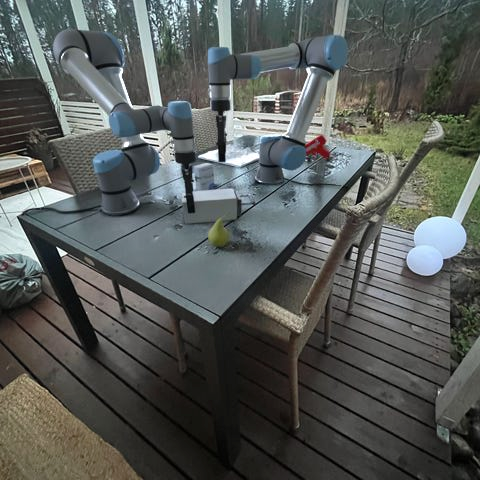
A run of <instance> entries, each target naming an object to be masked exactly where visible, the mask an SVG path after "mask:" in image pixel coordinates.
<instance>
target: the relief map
mask: <svg viewBox="0 0 480 480" xmlns="http://www.w3.org/2000/svg"><path fill="white" fill-rule="evenodd" d="M225 157H226V162H219V159H218V149H216V150H209V151H207V152H206V153H203V154H200V155H198V156H197V158H198V159H202V160H206V161H210V162H213V163H218V164H223V165H226V166H227V165H228V166H232V167H235V168H236V167H237V168H242V167H245V166H247V165H249V164H252V163H254V162H257V161H259V153H257V152H254V151H253V150H252V149H251V148H250V147H245V148H243V149H242V148H239V147H237V145H236V144H234V143H233V144H231V143H229V144H227V145H226V153H225Z"/></svg>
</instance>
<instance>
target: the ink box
mask: <svg viewBox="0 0 480 480" xmlns="http://www.w3.org/2000/svg"><path fill="white" fill-rule="evenodd" d="M214 172H215V171H214V164H212V163H209V162H205V163H201V164H197V165H194V166H193V173H194V183H195V184H194V185H195V190H196V191H202V190H212V189H214V188H215V174H214Z"/></svg>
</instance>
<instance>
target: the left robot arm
mask: <svg viewBox="0 0 480 480" xmlns="http://www.w3.org/2000/svg"><path fill="white" fill-rule="evenodd" d="M52 50H53V55H54V58H55V60H56V62H57V64H58V66H59V67H60V68H61V69H62V71H63V72H65V74H67V75H68V76H69V77H73V78H74V79H75V81H76V82H77V83H78V84H79V85H80V86H81V87H82V88H83V89H84V91H85V92H86V93H87V94H88V95H89V96H90V97H91V98H92V99H93V101H95V102H96V104H97V105H98V106H99V107H100V108H101V109H102V110H103V112H104V113H105V114H106V115H107V116H108V124H109V127H110V129H111V131H112V133H113V134H114V136H115V137H117V138H120V140H121V143H122V145H121V147H120V149H111V150H105V151H103V152H100V153H98V154H96V155H95V156H94V157H93V159H92V165H93V172H94V173H95V176H96V179H97V183H98V185H99V189H100V192H101V201H100V202H101V204H98V205H94V206H90V207H86V208H81V209H75V210H59V209H56V208H54V207H50V206H49V207H47V206H46V207H31V208H27V209H25V210H24V211H23V212H21V214H20V216H24V215H26V214H27V213H28V212H33V211H45V210H49V211H54V212H56V213H59V214H76V213H81V212H87V211H92V210H94V209H98V208H100V209H101V211H102V213H103V215H106V216H108V217H109V216H110V217H119V216H120V217H121V216H125V215H128V214H131V213H134V212H136V211H138V209H139V208H140V207H141V205H140V200H139V199H138V197H137V196H136V194H135V192H134V190H133V189H132V185H131V182H133V181H135V180H138V179H142V178H145V177H149V176H151V175H153V174H156V173H158V171H159V169H160V166H161V159H160V158H161V157H160V154H159V152H158V150H157V149H156V148H155V147H154V146H152V145H150V143H149V141H148V140H146V139H145V138H144V137H143V134H149V133H154V132H155V133H156V132H159V131H168V132H170V133H171V138H172V140H171V141H170V144H171V145H173V151H174V152H173V155H174V161H175V162H176V163H177V164H180V165H181V168H180V169H181V174H182V180H183V182H184V192H186V196H184V198H186V202H187V209H188V214H189V213H195V205H194V196H193V191H194V184H193V183H195V178H193V173H194V169H193V165H192V164H194V163H195V162H197V151H196V139H195V131H194V120H193V118H194V117H193V110H192V105H191V103H190V102H189V101H186V100H174V101H173V100H172V101H169V102H168V103H167V106H163V105H162V106H161V105H158V104H157V105H151V106H149V107H144V108H138V109H137V108H136V109H134V107H133V105H132V103H131V101H130V100H131V99H130V98H129V94H128V92H127V89H126V85H125V83H124V80H123V78H122V74H123V72H124V69H123V67H124V66H125V62H126V61H125V53H124V50H123V47H122V45H121V43H120V41H119V40H118V38H117V37H116V36H114V35H113V34H112V33H111V32H106V31H102V30H86V29H75V28H66V29H63V30H61V31H60V32H58V34H57V35H56V36H55V37H54V40H53V46H52ZM40 208H41V209H40Z"/></svg>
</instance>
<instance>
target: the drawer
mask: <svg viewBox="0 0 480 480" xmlns="http://www.w3.org/2000/svg"><path fill="white" fill-rule="evenodd" d="M234 193H235V196H236V198H237V217H242V215H243V214H242V206H250V205H252V206H255V205H256V201H255V199H254V197H253V195H252V193H248V194H240V193H239V191H238V190H234ZM244 197H245V198H246V197H248V199H249V201H250V202H242V198H244Z"/></svg>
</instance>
